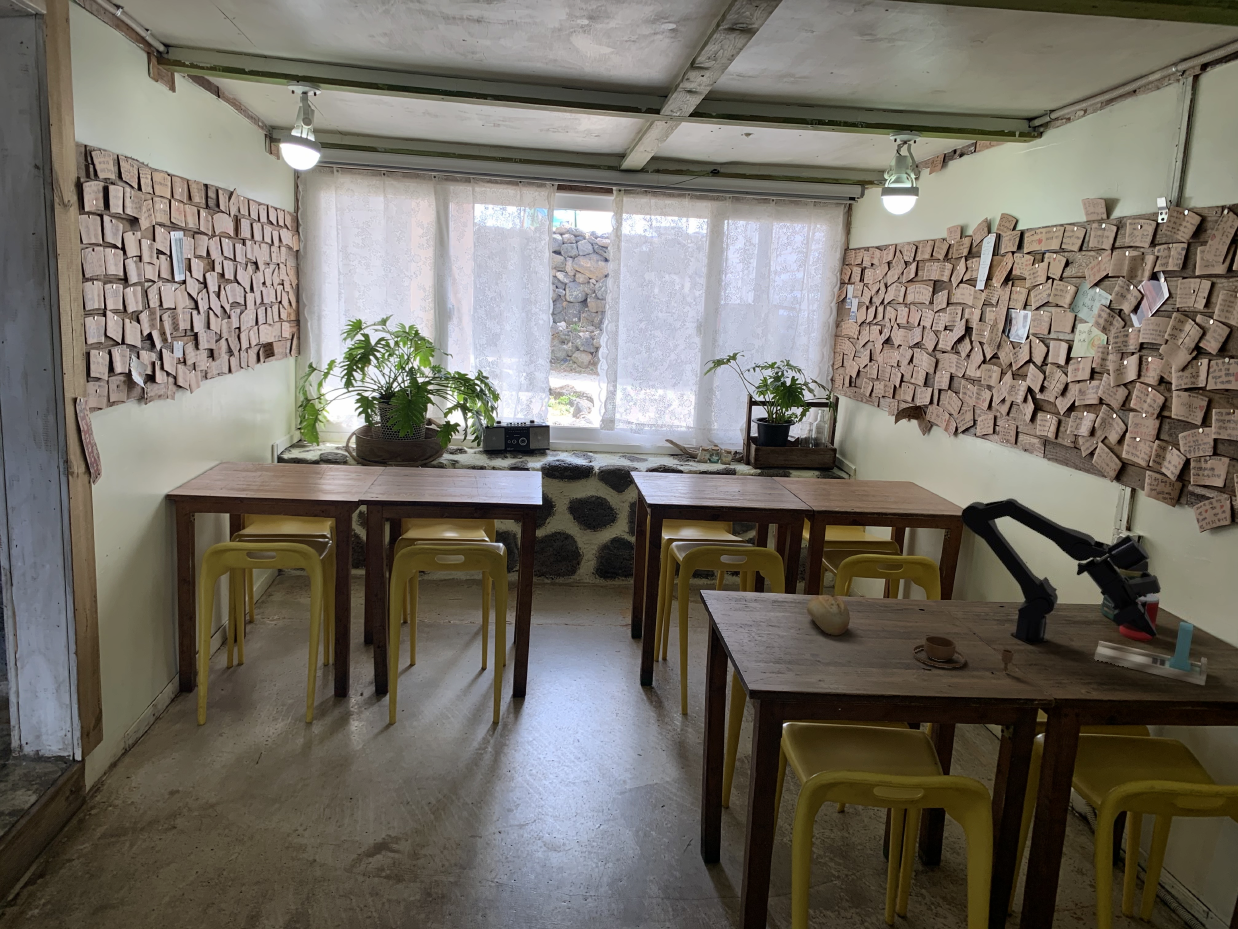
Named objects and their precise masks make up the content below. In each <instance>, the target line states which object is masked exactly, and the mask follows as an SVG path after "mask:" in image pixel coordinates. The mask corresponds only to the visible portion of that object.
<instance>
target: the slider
mask: <svg viewBox="0 0 1238 929" xmlns="http://www.w3.org/2000/svg"><path fill="white" fill-rule="evenodd" d="M1193 632H1194V624H1192V623H1187V622H1182V621H1180V623H1179V628H1178V633H1177V640H1176V645H1175V646H1176V647H1175V651H1174V656H1170V664H1169V668H1174V669H1178V670H1183V671H1187V672H1190V665H1191V661H1192V660H1189V655H1190V650H1191V645H1192V638H1193Z"/></svg>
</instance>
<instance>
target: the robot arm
mask: <svg viewBox="0 0 1238 929" xmlns="http://www.w3.org/2000/svg"><path fill="white" fill-rule="evenodd" d="M1007 517H1009V518H1011V519H1012V520H1015V522H1018V523H1020V524H1022V525H1023V526H1025V527H1027V528H1029V529H1031V530H1032V531H1034V532H1035V533H1038V534H1039V535H1041V536H1043V537H1045V538H1047V539H1048V540H1050V541H1051V542H1053V543H1054V544H1055V545H1056V546H1057V547H1058V548H1059V549H1060V550H1061V551H1062V552H1063V553H1065V554H1066V555H1067V556H1069V557H1070V558H1071V559H1073V560H1074V561H1077V562H1078V563H1077V571H1076V576H1080V575H1082V574H1084V573H1087V575H1088V576H1089V577H1090V578H1091V580H1092V581H1093V582H1094V584H1095V585H1096V586H1097V587H1098V589H1100V594H1101V595H1102V596H1103V597H1104V595H1105V596H1106V597H1107V598H1108V599H1109V600H1110V602H1111V603H1112V604H1113V606H1112V607H1113V609H1114V610H1115V612H1114V616H1113V620H1112V621H1113V622H1114V623H1115V624H1116V626H1117V627H1120V626H1121V625H1123V624H1125V623H1127V624H1129V625H1131V626H1133V627H1135V628H1137V629H1139V630H1141V631H1142V632H1144V633H1146V634H1148V635H1149V636H1151V637H1153V638H1155V637H1156V636H1157V635H1158V634H1157V631H1156V628H1155V629H1154V627H1153V625H1152V623H1151V621H1150V619H1149V617H1148V615H1147V613H1146V608H1147V601H1146V602H1144V603H1142V604H1141V603H1140V602H1139V601H1137V599H1139V598H1140V597H1142V596H1144V597H1147V594H1153V595H1156V594H1160V593H1161V590H1162V588H1161V585H1160V582H1159V578H1158V576H1157V575H1156V574H1151V573H1150V571H1149V570H1148V571H1145V572H1141V575H1140V578H1136V579H1134V580H1129V579H1128V577H1127V576H1126V577H1125V576H1122V575H1121V574H1120V573H1119V572H1118V570H1117V569H1116V568H1115V567H1114V566H1113V564H1114V565H1115V566H1116V567H1117V568H1118V569H1121V570H1123V569H1125V570H1126V571H1127V570H1129V569H1131V568H1133V567H1135V566H1136V565H1138V564H1140V563H1142V562H1144V561H1145V560H1146V561H1148V560H1149V559H1150V555H1149V554H1148V552H1147V550H1146V548H1144V547H1143V545H1142V544H1141V543H1139V542H1138V541H1137V540H1136V539H1134V538H1133V537H1132V536H1131V535H1130V534H1127V535H1125V536H1123V537H1122V538H1121V539H1119V540H1118V541H1116V542H1115V543H1113V544H1108V543H1105V542H1103V541H1099V540H1096V539H1095V538H1094V536H1092V535H1091V534H1089V533H1087V532H1083V531H1080V530H1077V529H1074V528H1069V527H1066V526H1063V525H1061V524H1059V523H1057V522H1055V521H1053V520H1051V519H1050V518H1049V517H1046V516H1045V515H1043V514H1041V513H1039V512H1037V511H1035V510H1034V509H1032V508H1030V507H1028V506H1026V505H1024V504H1023V503H1020V502H1019V501H1018V500H1017V499H1015V498H1006V499H1004V500H997V501H991V502H986V503H985V502H982V501H973V502H972V503H970V504H968V505H967V506H966V507H964V508H963V509H962V511H961V516H960V518H961V522H962V524H964V525H965V526H966V527H967V528H968V529H969V530H970V531H972V532H973V533H974V534H975V535H977V536H978V537H980V538H981V539H983V540H984V542H985V543H986V544H987V545H988V547H989V548H990V549H991V551H992V552H993V553H994V554H995V555H996V557H997V558H998V559H999V561H1000V562H1001V564H1003V566H1004V567H1005V568H1006V570H1007V571H1008V572H1009V573H1010V575H1011V576H1012V578H1013V579H1014V580H1015V581H1016V583H1017V584H1018V586H1020V590H1021V592H1022V595H1023V597H1024V600H1023V602H1022V603H1021V604H1020V606H1019V608H1018V610H1017V612H1018V613H1017V619H1016V620H1017V621H1016V629H1015V631H1014V632H1010V636H1012V637H1014V638H1016V639H1018V640H1020V641H1023V642H1024V643H1027V644H1029V645H1033V644H1042V643H1048V642H1049V641H1050V640H1049V639H1048V638H1046V637H1045V636H1046V630H1047V615H1049V614H1051V613H1052V612H1053V610H1054V609H1055V607H1056V605H1057V603H1058V599H1059V596H1058V593H1057V590H1058V589H1057V588H1056V587H1054V586H1053V585H1052V584H1051V582H1050V580H1049V579H1048V577H1047V576H1045V577H1043V579H1042V578H1040V577H1038V576H1036V575H1035V574H1034V573H1033V571H1032V570H1031V569H1030V568H1029V566H1028V565H1027V564H1026V562H1025V561H1024V560H1023V558H1021V556H1020V555H1019V554H1018V552H1017V551H1016V550H1015V548H1014V547H1013V546H1012V544H1010V542H1009V541H1008V539H1006V537H1005V536H1004V535H1003V533H1002V532H1001V531H1000V530H999V526H998V525H997V522H996V520H998V519H1001V518H1007ZM1109 558H1110V560H1111V561H1112V562H1113V564H1112V563H1111V562H1110V561H1109ZM1085 561H1086V562H1085Z"/></svg>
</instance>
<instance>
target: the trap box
mask: <svg viewBox="0 0 1238 929" xmlns="http://www.w3.org/2000/svg"><path fill="white" fill-rule="evenodd" d="M1170 657H1171V655H1170V656H1169V655H1166V654H1161V653H1156V652H1152V651H1147V650H1143V649H1138V648H1134V647H1129V646H1125V645H1120V644H1116V643H1111V642H1108V641H1106V642H1105V641H1102V640H1098V646H1097V648H1096V650H1095V652H1094V658H1093V660H1094V659H1095V660H1094V661H1097V660H1099V661H1098V662H1101V661H1103V662H1102V663H1105V662H1108V663H1107V664H1110V663H1112V664H1111V665H1114V664H1115V666H1118V665H1119V667H1122V666H1124V667H1123V668H1127V667H1128V668H1127V669H1132V670H1136V671H1140V672H1144V673H1149V674H1153V675H1158V676H1161V677H1165V678H1170V679H1174V680H1179V681H1183V682H1188V683H1192V684H1195V685H1200V686H1205V685H1206V679H1207V675H1208V673H1207V672H1208V658H1207V657H1203V656H1201V661H1200V662H1199V661H1197V662H1196V661H1192V660H1190V661H1191V665H1190V672H1187V671H1183V670H1178V669H1174V668H1169V664H1170Z"/></svg>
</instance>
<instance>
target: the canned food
mask: <svg viewBox="0 0 1238 929" xmlns="http://www.w3.org/2000/svg"><path fill="white" fill-rule="evenodd" d="M1137 601H1139V602H1140V603H1141V604H1142V603H1144V602H1146V601H1147V608H1146V613H1147V615H1148V617H1149V619H1150V621H1151V623H1152V625H1153V627H1154V629H1155V630H1156V623H1157V617H1158V611H1159V605H1160V597H1159V596H1157V595H1156V594H1147V597H1144V596H1142V597H1140V598H1139V599H1137ZM1119 633H1120V635H1121V636H1123V637H1125V638H1127V639H1130V640H1133V639H1134V640H1133V641H1138V640H1140V641H1139V642H1148V641H1149V642H1150V641H1151V640H1152V639H1153V638H1154V637H1151V636H1149V635H1148V634H1146V633H1144V632H1142V631H1141V630H1139V629H1137V628H1135V627H1133V626H1131V625H1129V624H1127V623H1125V624H1123V625H1121V626H1119Z"/></svg>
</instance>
